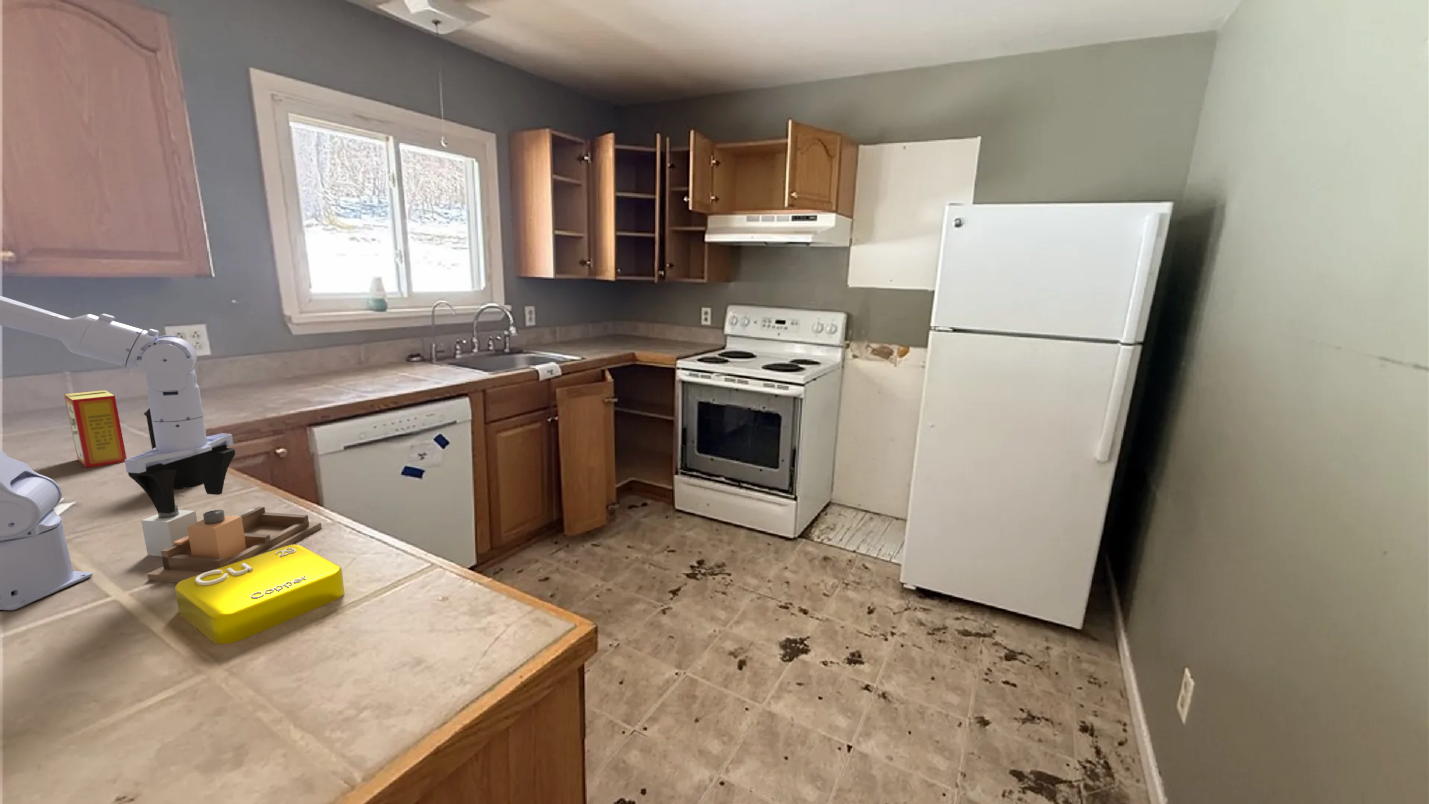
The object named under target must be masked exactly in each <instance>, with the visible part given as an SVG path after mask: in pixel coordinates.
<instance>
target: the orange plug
mask: <svg viewBox="0 0 1429 804" xmlns="http://www.w3.org/2000/svg"><path fill="white" fill-rule="evenodd" d="M202 515H203V517H202V518H203V519H202V520H199V521H197V522H196V523H194V524H192V525H189V526H187V530H188V536H189V542H190V548H191V554H192V556H205V557H219V558H225V561H226V560H227V559H229V558H231V557H233V556H235V555H237V554H239V553H241V552H243V551H245V550H246V543H245V536H244V530H243V523H242V516H233V515H226V514H225V511H224V510H223V509H214V510H209V511H206V512H204V513H203V514H202Z"/></svg>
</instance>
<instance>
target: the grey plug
mask: <svg viewBox="0 0 1429 804" xmlns="http://www.w3.org/2000/svg"><path fill="white" fill-rule="evenodd" d="M196 512H197V511H196V510H189V509H188V510H187V509H179V506H178V504H175V511H174V512H172V513H158V512H157V514H154V515H151V516H149V517H146V518H143V519H141V526H142V532H143V538H144V544H145V548H146V549H145V550H146V554H147V556H150V555H151V556H150V557H152V556H153V557H162V556H161V550H163V549H166V548H168V547H170V546H172V545H174V544H173V542H175V541H177V540H179V539H181V538H184V537H186V536H188V530H187V526H189V525H192V524H194V523H196V522H198V519H197V513H196Z"/></svg>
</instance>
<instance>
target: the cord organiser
mask: <svg viewBox="0 0 1429 804" xmlns="http://www.w3.org/2000/svg"><path fill="white" fill-rule="evenodd" d="M232 516H242V523H243V530H244V536H245V543H246V550H245V551H243V552H241V553H239V554H237V555H235V556H233V557H231V558H229V559H227V560H226V561H225V558H219V557H205V556H192V554H191V548H190V542H189V536H186V537H184V538H181V539H179V540H177V541H175V542H173V544H174V545H172V546H170V547H168V548H166V549H163V550H161V556H160V557H161V561H162V566H161V567H158V568H156V569H155V570H152V571H150V572H148V573H147V574H146V575H147V579H148V581H155V582H170V583H179V582H180V581H182V580H185V579H188V578H191V577H194V576H197V575H200V574H203V573H206V572H209V571H212V570H215V569H218V568H221V567H224V566H227V565H230V564H233V563H236V562H239V561H242V560H245V559H248V558H251V557H254V556H257V555H260V554H264V553H267V552H270V551H273V550H276V549H279V548H282V547H285V546H288V545H293V544H296V543H297V542H299V541H300V540H302V539H304V538H306V537H309V536H310V535H311V534H313V533H315V532H317V531H318V530H320V529H321V528H322V522H320V521H319V522H318V521H309V515H308V514H296V513H295V514H294V513H282V512H281V513H280V512H268V511H267V512H266V508H265V506H257V507H255V508H247V509H245V510H243V511H241V512H238V513H237V514H234V515H232Z"/></svg>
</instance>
